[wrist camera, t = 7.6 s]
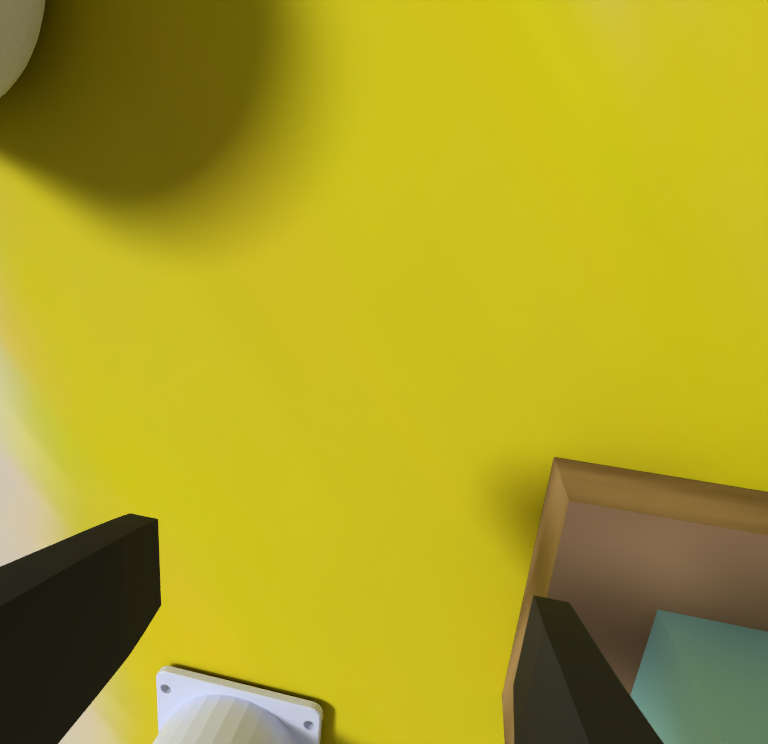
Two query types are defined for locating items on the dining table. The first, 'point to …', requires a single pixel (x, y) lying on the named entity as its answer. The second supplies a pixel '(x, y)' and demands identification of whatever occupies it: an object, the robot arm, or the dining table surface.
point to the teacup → (17, 37)
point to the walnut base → (643, 558)
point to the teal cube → (704, 681)
